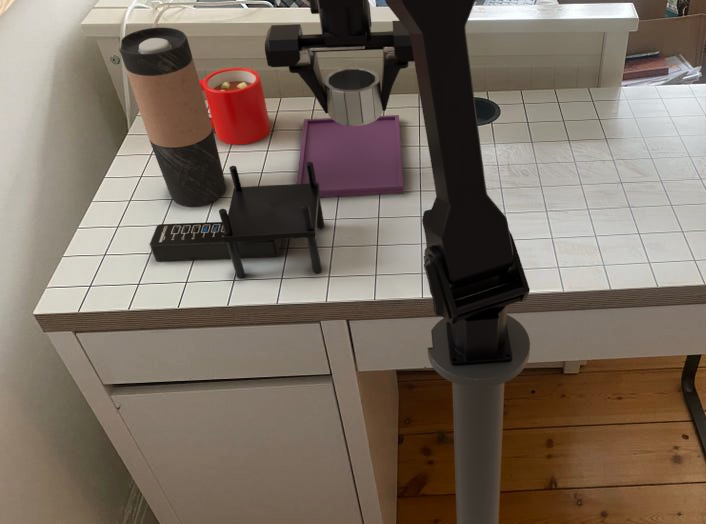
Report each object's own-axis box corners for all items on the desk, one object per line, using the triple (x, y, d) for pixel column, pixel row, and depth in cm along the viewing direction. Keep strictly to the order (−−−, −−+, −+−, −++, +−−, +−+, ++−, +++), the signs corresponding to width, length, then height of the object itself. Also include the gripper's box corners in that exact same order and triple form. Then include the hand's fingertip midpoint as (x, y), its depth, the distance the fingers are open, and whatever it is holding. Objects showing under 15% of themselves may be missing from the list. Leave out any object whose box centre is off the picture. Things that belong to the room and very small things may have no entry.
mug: (196, 117, 114) (181, 66, 108) (275, 118, 114) (265, 67, 108) (181, 144, 108) (165, 92, 102) (265, 144, 108) (253, 92, 102)
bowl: (383, 126, 93) (380, 90, 90) (328, 128, 93) (322, 93, 89) (382, 100, 98) (379, 66, 95) (330, 103, 97) (325, 68, 94)
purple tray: (403, 193, 100) (403, 186, 99) (296, 199, 98) (295, 191, 98) (399, 121, 113) (398, 114, 112) (305, 125, 112) (304, 119, 111)
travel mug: (240, 186, 100) (201, 36, 86) (197, 214, 96) (148, 60, 82) (200, 170, 103) (155, 21, 89) (156, 196, 99) (102, 44, 84)
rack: (322, 274, 88) (310, 208, 81) (235, 279, 87) (216, 214, 80) (325, 224, 95) (314, 160, 88) (245, 228, 94) (228, 164, 87)
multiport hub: (277, 256, 90) (274, 241, 88) (154, 261, 89) (148, 245, 87) (282, 234, 93) (278, 219, 91) (162, 239, 92) (157, 223, 90)
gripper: (420, -47, 90) (426, 79, 101) (262, -42, 89) (285, 85, 100) (425, -14, 82) (431, 119, 94) (252, -8, 81) (279, 126, 92)
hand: (355, 110), depth 95 cm, fingers closed on bowl, 7 cm apart
